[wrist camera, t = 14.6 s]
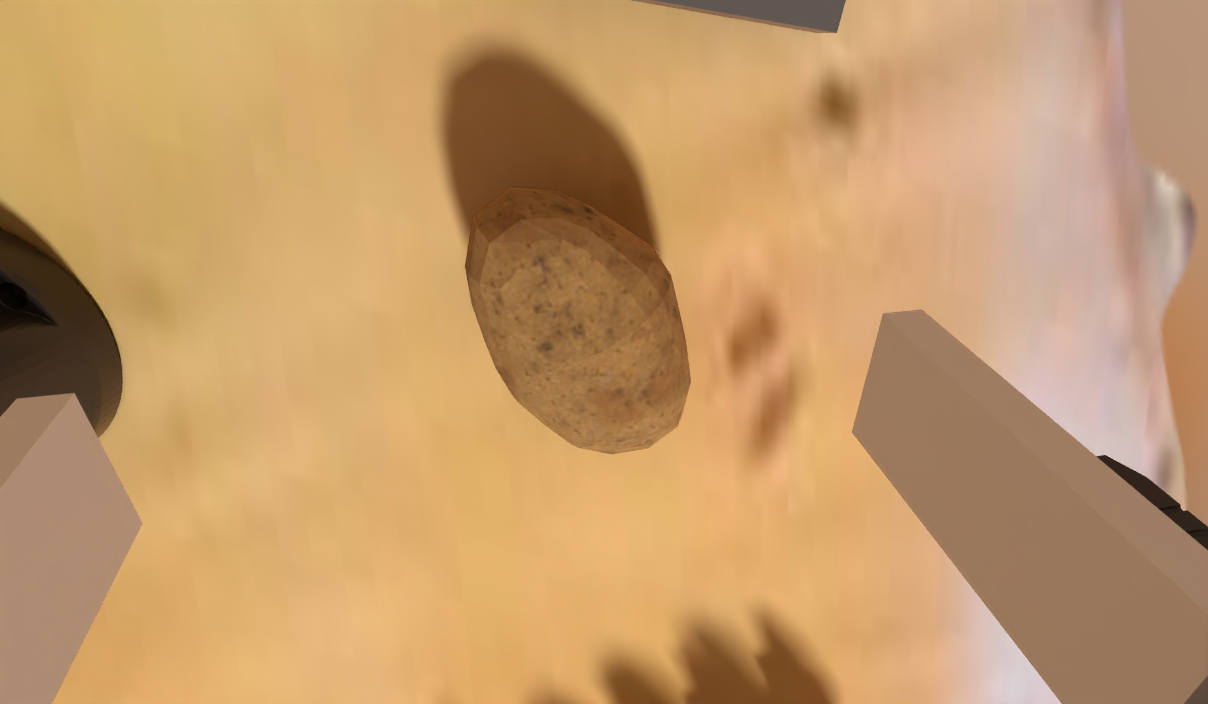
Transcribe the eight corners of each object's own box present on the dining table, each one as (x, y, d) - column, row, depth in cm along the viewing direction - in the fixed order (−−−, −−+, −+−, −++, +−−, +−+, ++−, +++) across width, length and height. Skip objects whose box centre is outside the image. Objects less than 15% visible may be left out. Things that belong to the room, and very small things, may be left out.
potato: (596, 123, 33) (598, 149, 25) (715, 352, 38) (745, 428, 31) (428, 218, 35) (385, 268, 27) (565, 424, 40) (560, 512, 33)
